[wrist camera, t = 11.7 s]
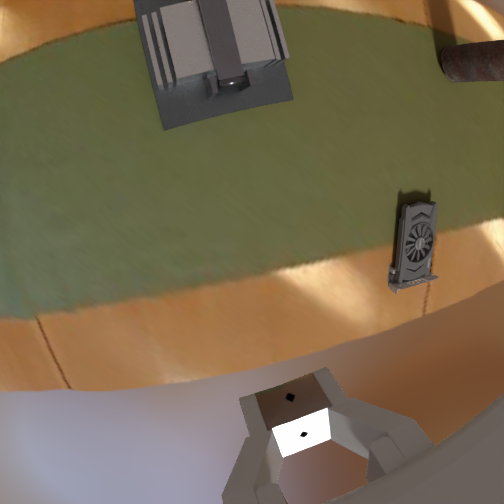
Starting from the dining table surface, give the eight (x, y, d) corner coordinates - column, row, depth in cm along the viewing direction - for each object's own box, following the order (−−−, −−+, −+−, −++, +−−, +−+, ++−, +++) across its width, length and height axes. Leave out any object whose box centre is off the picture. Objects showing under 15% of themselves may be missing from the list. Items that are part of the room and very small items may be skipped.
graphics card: (439, 282, 57) (396, 295, 55) (427, 275, 61) (384, 287, 58) (450, 201, 51) (405, 205, 49) (437, 197, 55) (392, 200, 52)
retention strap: (245, 83, 34) (247, 83, 33) (218, 89, 34) (220, 88, 33) (219, -20, 28) (221, -24, 26) (193, -16, 27) (194, -20, 26)
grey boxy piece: (164, 130, 39) (161, 128, 31) (134, 3, 32) (126, -26, 23) (290, 100, 42) (320, 93, 33) (258, -19, 34) (279, -49, 25)
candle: (432, 66, 44) (519, 60, 26) (440, 39, 42) (522, 28, 24) (456, 89, 47) (539, 93, 28) (463, 62, 45) (542, 60, 27)
